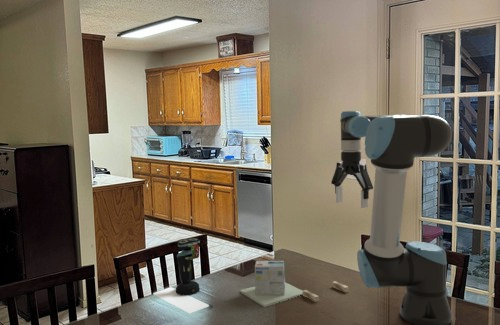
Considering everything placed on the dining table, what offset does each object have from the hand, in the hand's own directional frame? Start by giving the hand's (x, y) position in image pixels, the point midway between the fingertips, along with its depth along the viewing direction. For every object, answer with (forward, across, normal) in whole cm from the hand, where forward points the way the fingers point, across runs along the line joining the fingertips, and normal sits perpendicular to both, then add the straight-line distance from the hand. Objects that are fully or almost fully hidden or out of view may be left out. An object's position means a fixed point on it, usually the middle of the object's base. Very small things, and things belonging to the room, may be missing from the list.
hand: (351, 204), depth 176 cm
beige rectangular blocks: (+29, -8, +21) cm, 36 cm away
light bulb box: (+28, +4, +37) cm, 47 cm away
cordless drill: (+29, +24, +60) cm, 71 cm away
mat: (+29, +4, +36) cm, 46 cm away
